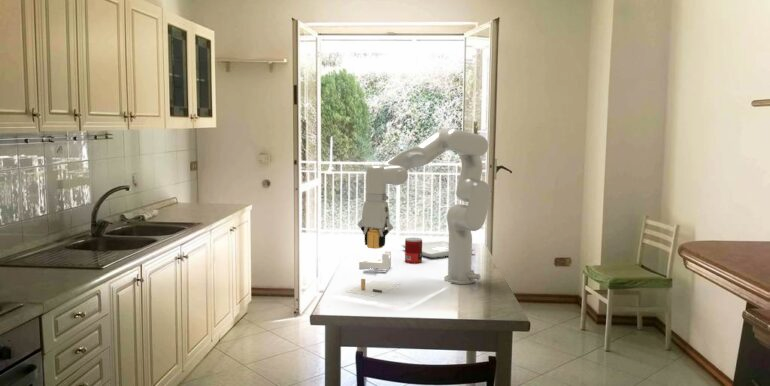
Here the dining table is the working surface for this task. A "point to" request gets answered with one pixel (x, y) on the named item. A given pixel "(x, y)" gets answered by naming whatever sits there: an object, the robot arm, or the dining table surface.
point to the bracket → (377, 262)
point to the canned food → (413, 250)
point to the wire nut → (373, 238)
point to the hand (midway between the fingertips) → (374, 244)
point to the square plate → (432, 253)
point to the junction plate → (372, 288)
